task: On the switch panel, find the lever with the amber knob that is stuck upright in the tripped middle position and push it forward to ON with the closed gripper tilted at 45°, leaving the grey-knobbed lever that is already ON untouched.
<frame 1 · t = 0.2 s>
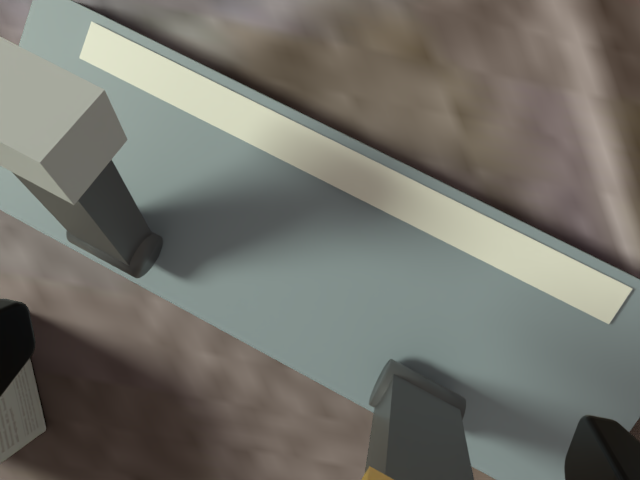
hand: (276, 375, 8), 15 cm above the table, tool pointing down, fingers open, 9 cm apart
tripped lever: (417, 467, 15), point 8 cm above the table, hinge at 0.0°
switch panel: (311, 239, 23), on the table
on lever: (80, 191, 17), point 7 cm above the table, hinge at 35.0°
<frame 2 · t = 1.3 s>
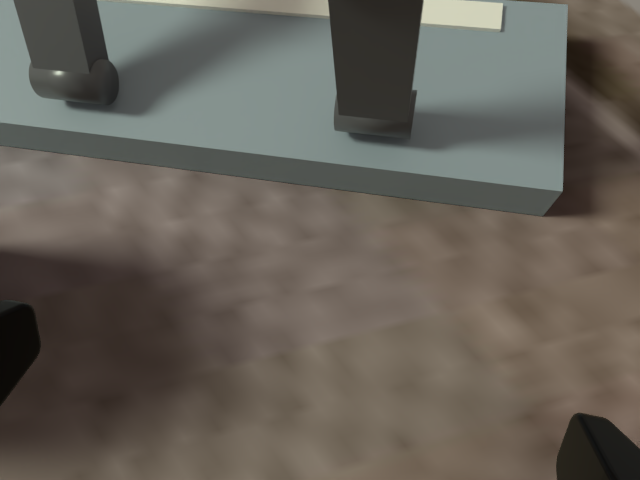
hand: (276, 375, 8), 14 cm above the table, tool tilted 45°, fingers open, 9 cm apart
tripped lever: (377, 34, 17), point 8 cm above the table, hinge at 0.0°
switch panel: (252, 92, 27), on the table
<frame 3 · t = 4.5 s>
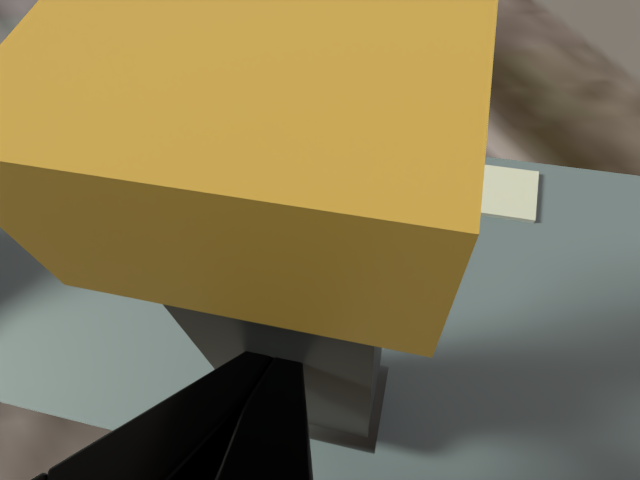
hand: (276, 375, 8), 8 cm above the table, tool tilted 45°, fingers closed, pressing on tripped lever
tripped lever: (297, 327, 8), point 8 cm above the table, hinge at 10.9°, touching gripper
switch panel: (157, 275, 18), on the table
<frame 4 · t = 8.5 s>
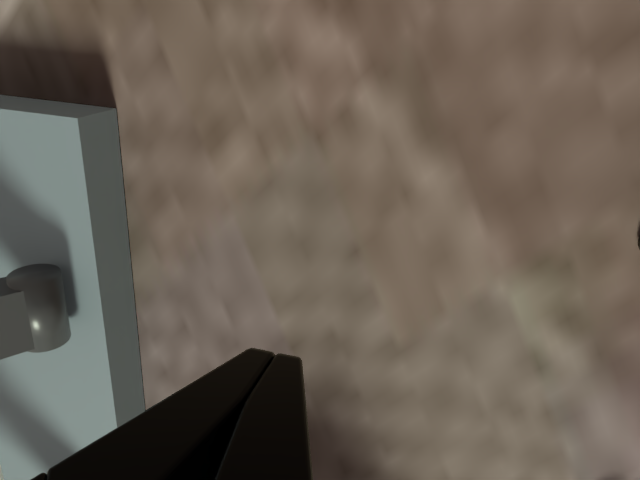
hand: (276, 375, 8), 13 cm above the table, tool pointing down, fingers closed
switch panel: (62, 369, 28), on the table
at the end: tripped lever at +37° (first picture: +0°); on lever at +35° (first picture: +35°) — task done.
